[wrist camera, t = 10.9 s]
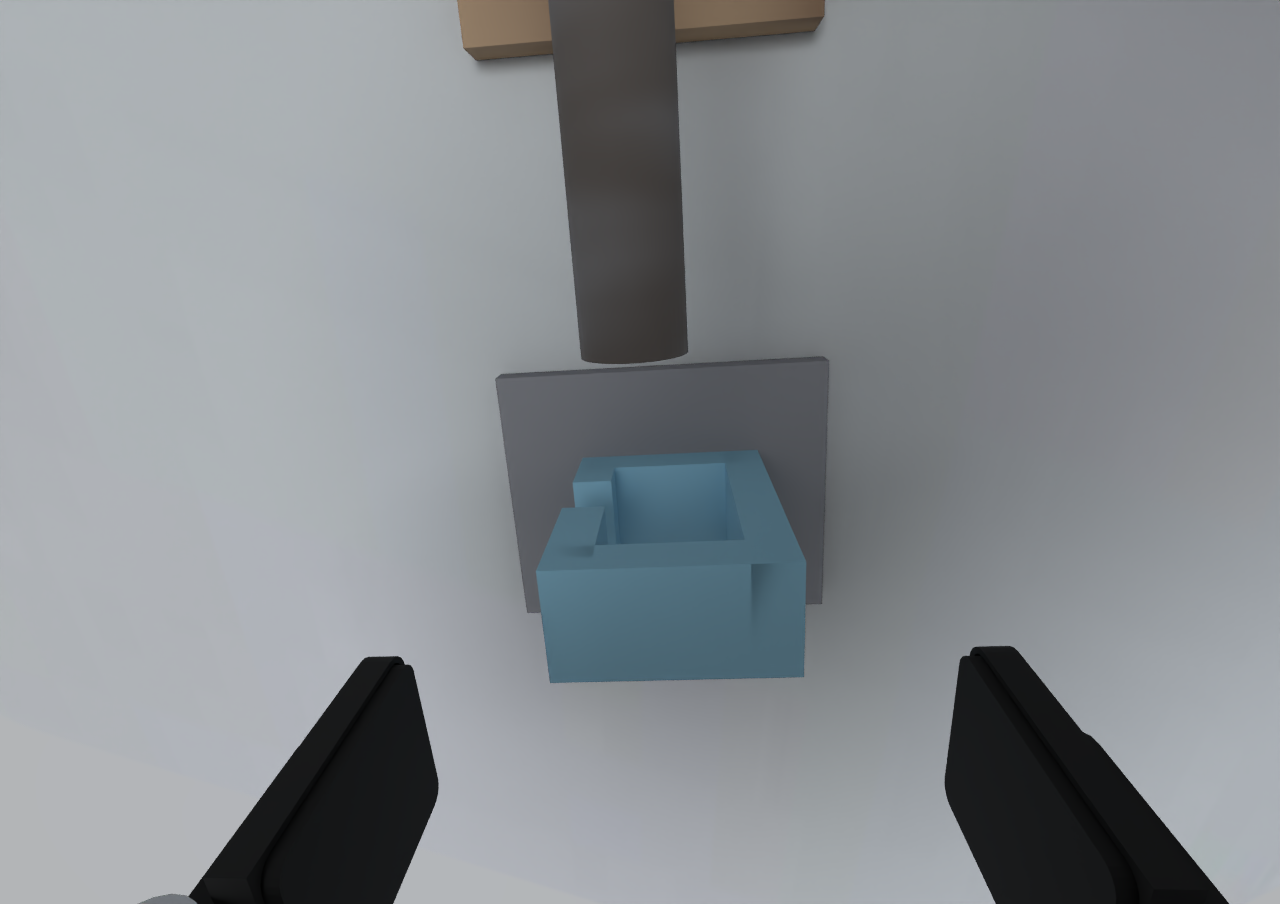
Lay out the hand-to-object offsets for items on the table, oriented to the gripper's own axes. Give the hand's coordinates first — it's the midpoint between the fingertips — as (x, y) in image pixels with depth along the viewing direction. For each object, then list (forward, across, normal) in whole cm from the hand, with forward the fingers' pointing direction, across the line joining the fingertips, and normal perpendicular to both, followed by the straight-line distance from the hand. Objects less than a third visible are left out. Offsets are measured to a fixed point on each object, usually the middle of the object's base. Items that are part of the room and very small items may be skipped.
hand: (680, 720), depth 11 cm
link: (+12, 0, +1) cm, 12 cm away
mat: (+12, 0, +1) cm, 12 cm away
